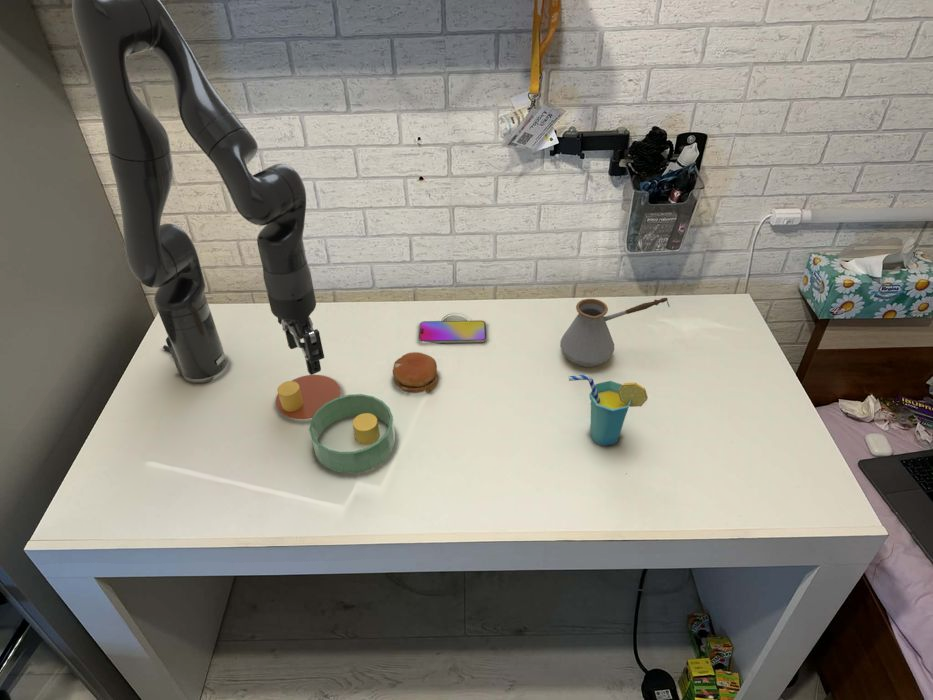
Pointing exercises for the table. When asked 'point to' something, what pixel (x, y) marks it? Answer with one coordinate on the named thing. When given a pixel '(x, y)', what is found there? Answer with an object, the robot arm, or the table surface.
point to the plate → (312, 395)
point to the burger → (415, 372)
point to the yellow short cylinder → (366, 428)
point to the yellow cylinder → (290, 396)
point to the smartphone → (452, 331)
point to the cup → (611, 407)
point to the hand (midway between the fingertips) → (304, 359)
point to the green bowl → (359, 458)
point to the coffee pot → (593, 332)
